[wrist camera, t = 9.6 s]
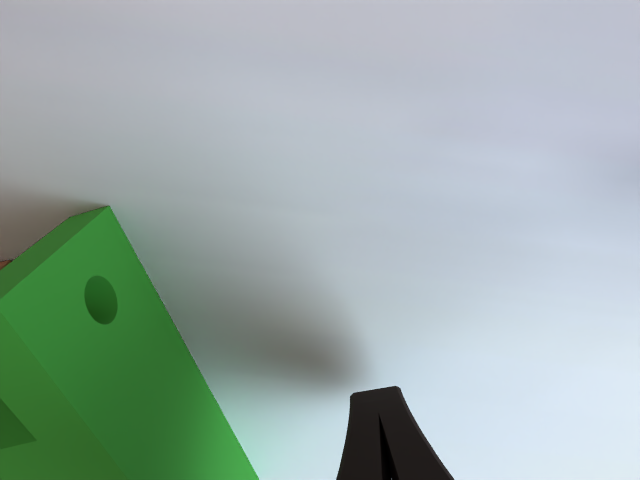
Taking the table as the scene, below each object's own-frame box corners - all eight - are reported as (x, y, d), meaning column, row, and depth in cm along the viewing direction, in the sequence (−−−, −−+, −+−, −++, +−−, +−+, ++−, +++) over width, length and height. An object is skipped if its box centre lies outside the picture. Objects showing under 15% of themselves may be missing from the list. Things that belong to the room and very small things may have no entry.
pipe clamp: (-15, 239, 11) (-203, 356, 7) (113, 201, 11) (-7, 301, 7) (166, 496, 16) (116, 658, 12) (260, 476, 16) (242, 635, 11)
